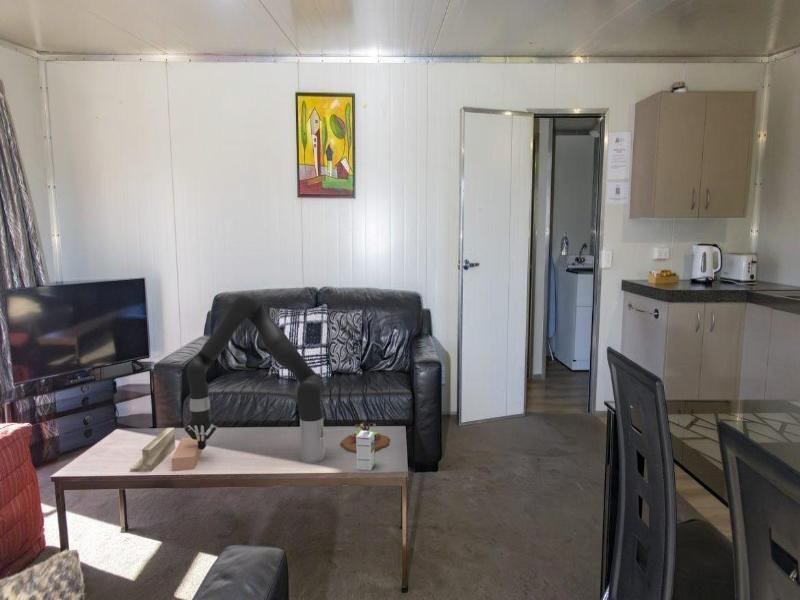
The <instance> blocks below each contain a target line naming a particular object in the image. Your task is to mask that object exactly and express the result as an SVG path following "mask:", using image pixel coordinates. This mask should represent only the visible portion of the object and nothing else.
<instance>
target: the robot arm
mask: <svg viewBox="0 0 800 600" xmlns="http://www.w3.org/2000/svg"><path fill="white" fill-rule="evenodd" d="M247 319H248V320H249V321H250V323H251V324H252V325H253V326H254V328H255V329H256V330H257V332H258V334H259V337H260V339H261V341H262V344H263V345H264V347H265V349H266V351H268V353H269V354H270V355H271V357H272V358H273V359H274V361H275V362H277V364H279V365H280V366H281V367H283V368H284V369H286V370H288V371H289V372H290V373H291V374H292V375H293V376H294V377H295V379H296V380H297V381H298V382H299V385H298V387H297V390H296V400H297V403H296V404H297V412H298V414H299V429H300V430H299V432H300V433H299V434H300V436H299V439H300V460H301V462H304V463H307V462H308V463H307V464H312V463H313V462H314V463H319V462H324V459H325V454H326V452H325V450H326V447H325V433H324V411H323V409H322V408H321V396H322V395H323V394H324V392H325V389H326V388H325V383H324V381H323V379H322V378H321V377H320V376H319V375H318V374H317V373H316V372H315V370H313V368H312V367H310V366H309V363H307V362H306V361H305V359H304V358H303V356H302V355H301V353H300V352H299V351H298V350H297V348H296V346H294V343H292V342H291V340H290V338H288V336H287V335H286V334H285V333H284V332H283V329H281V328H280V327H279V325H278V324H277V323H276V322H275V321H274V319H273V318H272V317H271V316H270V314H269V312H268V311H267V309H266V308H265V306H264V304H263V303H262V301H261V299H260V298H259V297H258V296H257V295H256V294H254V293H252V292H251V293H249V292H246V293H241V294H239V295H237V296H236V297H235V299H234V301H233V302H232V304H231V306H230V307H229V310H228V312H227V313H226V315H225V316H224V318H223V319H222V321H221V322H220V324H219V325H218V327H216V329H215V330H214V332H213V333H212V334H211V336H210V337H209V338H208V339H207V340H206V342H205V343H204V344H203V346H202V348H201V350H199V352H198V353H197V354H196V356H195V357H194V358H193V359H192V360H191V361H190V362H189V363H188V365H187V366H186V367H187V368H186V376H187V381H188V385H189V418H190V422H189V425H187V426H185V428H184V431H185V432H186V434H187V435H188V437H191V438H192V439H193V440H197V441H198V448H199V449H200V450H202V451H204V450H205V448H206V447H207V441H208V440H209V439H210V438H211V437H212V435H213V434H214V432H216V430H217V429H218V425H214V424H213V422H212V420H211V401H210V395H209V394H210V392H209V390H210V389H209V384H208V382H207V377H206V375H207V371H208V370H209V369H210V367H211V366H212V365H213V363H214V361H216V359H217V358H218V357H219V356H220V355H221V354H222V353H223V351H224V350H225V348H226V347H227V346H228V344H229V342H230V341H231V339H232V338H233V335H234V333H235V332H236V331H237V328H239V326H240V325H241V324H242V323H243V322H244V321H245V320H247ZM208 430H210V431H209V432H208ZM207 433H208V434H207ZM318 461H319V462H318ZM314 463H313V464H314Z"/></svg>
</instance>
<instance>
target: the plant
mask: <svg viewBox="0 0 800 600" xmlns="http://www.w3.org/2000/svg"><path fill="white" fill-rule="evenodd" d="M371 425H372V426H373V427H376V423H375V422H369V424H368V425H367V424H366V423H365V422H361V423H360V424H357V423H356V424H355V428H359V427H360V430H355V431H354V432H355V433H352V434H349V435H347V436H346V437H345V438H344V439H342V440H341V441H340V447H341V448H343V449H344V450H345V451H346V452H349V453H353V454H357V447H356V436H357V435H358V433H359V432H360V431H373V430H372V429H370V427H371ZM390 442H391V438H390V437H389V436H387V435H385V434H381V433H378V432H376V431H374V449H375V452H378V451H380V450H382V449H385V448H386V449H387V447H388V446H390Z"/></svg>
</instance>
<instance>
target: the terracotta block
mask: <svg viewBox="0 0 800 600" xmlns="http://www.w3.org/2000/svg"><path fill="white" fill-rule="evenodd" d="M202 452H203V450H200V449H199V448H198V441H197V440H193V439H192V438H191V437H190V436H188V437H181V439H180V441H179V443H178V445H177V446H176V448H175V451H174V453H173V455H172V457H171V469H172V472H177V471H178V472H180V471H188V470H189V471H190V470H195V469H196V467H197V464H198V461H199V459H200V457H201V454H202Z"/></svg>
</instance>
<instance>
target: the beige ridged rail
mask: <svg viewBox="0 0 800 600" xmlns="http://www.w3.org/2000/svg"><path fill="white" fill-rule="evenodd" d="M175 435H176V434H175V427H166V428H165V429H164V430H163V431H161V432H160V433H159V434H158V435H157V436H156V437H155V438H153V439H152V440H151V441H150V442H149V443H148V444H147V445H146V446H144V447H143V448H142V449H141V451H142V452H141V453H142V456H141V458H140V459H139V460H138V461H137V462H135V464H133V465H132V466H131V467H129V471H130V472H131V473H137V472H139V473H142V472H143V473H145V472H146V473H147V472H148V471H149V472H151V473H152V472H153V471H154V470H155V469H156V468H157V467H158V466H159V465H160V464H161V463H162V462H163V461H164V460H165V459H166V458H167V457H168V456H170V454H171V453H172V452H173V451H174V450H176V438H175V437H176V436H175Z"/></svg>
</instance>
